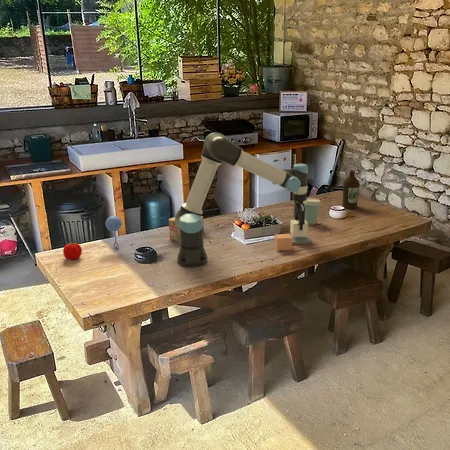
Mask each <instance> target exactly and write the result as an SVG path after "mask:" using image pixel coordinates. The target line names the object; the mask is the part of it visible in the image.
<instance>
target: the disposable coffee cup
mask: <svg viewBox="0 0 450 450" xmlns="http://www.w3.org/2000/svg"><path fill="white" fill-rule="evenodd" d="M303 204H304V207H305V220H306V222H307V223H308V225H316V223H317V221H318V217H319V213H320V208H321V204H322V201H321V199H318V198H309V197H307V200H306V201H304V202H303Z"/></svg>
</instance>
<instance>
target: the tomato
mask: <svg viewBox="0 0 450 450" xmlns="http://www.w3.org/2000/svg"><path fill="white" fill-rule="evenodd" d="M62 250H63V251H62V252H63V256H64V258H65V259H67V260H70V261H72V260H74V261H75V260H77V259H79V258H80V257H81V256H82V254H83V249H82V246H81V245H80V244H79V243H76V242H68V243H67V244H65V246H64V247H63V249H62Z"/></svg>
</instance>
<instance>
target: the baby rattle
mask: <svg viewBox="0 0 450 450" xmlns="http://www.w3.org/2000/svg"><path fill="white" fill-rule="evenodd" d="M122 225H123V221H122V220H121V218H120V217H119V216H117V215H111V216H108V218H107V219H106V221H105V227H106V229H107V230H108V231H110V232H113V233H114V243H113V246H114V248H115V247H117V248H116V249H119V248H120V245H119V244H118V242H117V236H116V232H118V231H119V230H120V229H121V228H122Z"/></svg>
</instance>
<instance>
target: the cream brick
mask: <svg viewBox="0 0 450 450" xmlns="http://www.w3.org/2000/svg"><path fill="white" fill-rule="evenodd" d="M298 224H299V220H295V219H293V220H290V227H289V228H290V231H289V232H290V234H292V235H293V236H298ZM308 227H309V224H308V223H307V222H306V220H305V224H303V235H308V230H309V229H308ZM301 236H302V235H301Z"/></svg>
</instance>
